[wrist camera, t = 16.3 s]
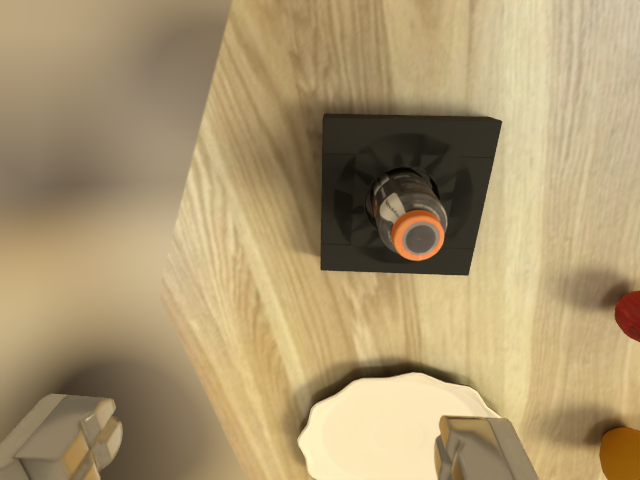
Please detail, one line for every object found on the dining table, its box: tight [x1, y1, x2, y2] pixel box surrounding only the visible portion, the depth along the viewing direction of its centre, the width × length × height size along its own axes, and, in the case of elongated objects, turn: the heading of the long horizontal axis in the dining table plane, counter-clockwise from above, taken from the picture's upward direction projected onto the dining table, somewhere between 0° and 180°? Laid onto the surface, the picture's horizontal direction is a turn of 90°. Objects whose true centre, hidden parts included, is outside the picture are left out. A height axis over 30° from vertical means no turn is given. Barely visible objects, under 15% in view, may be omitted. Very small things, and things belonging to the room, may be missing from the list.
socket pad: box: [321, 114, 502, 276], centre depth 37 cm, size 16×16×3 cm
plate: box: [297, 372, 502, 480], centre depth 54 cm, size 29×29×2 cm
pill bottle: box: [371, 168, 447, 261], centre depth 33 cm, size 6×6×11 cm
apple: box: [599, 427, 640, 480], centre depth 48 cm, size 9×9×9 cm
